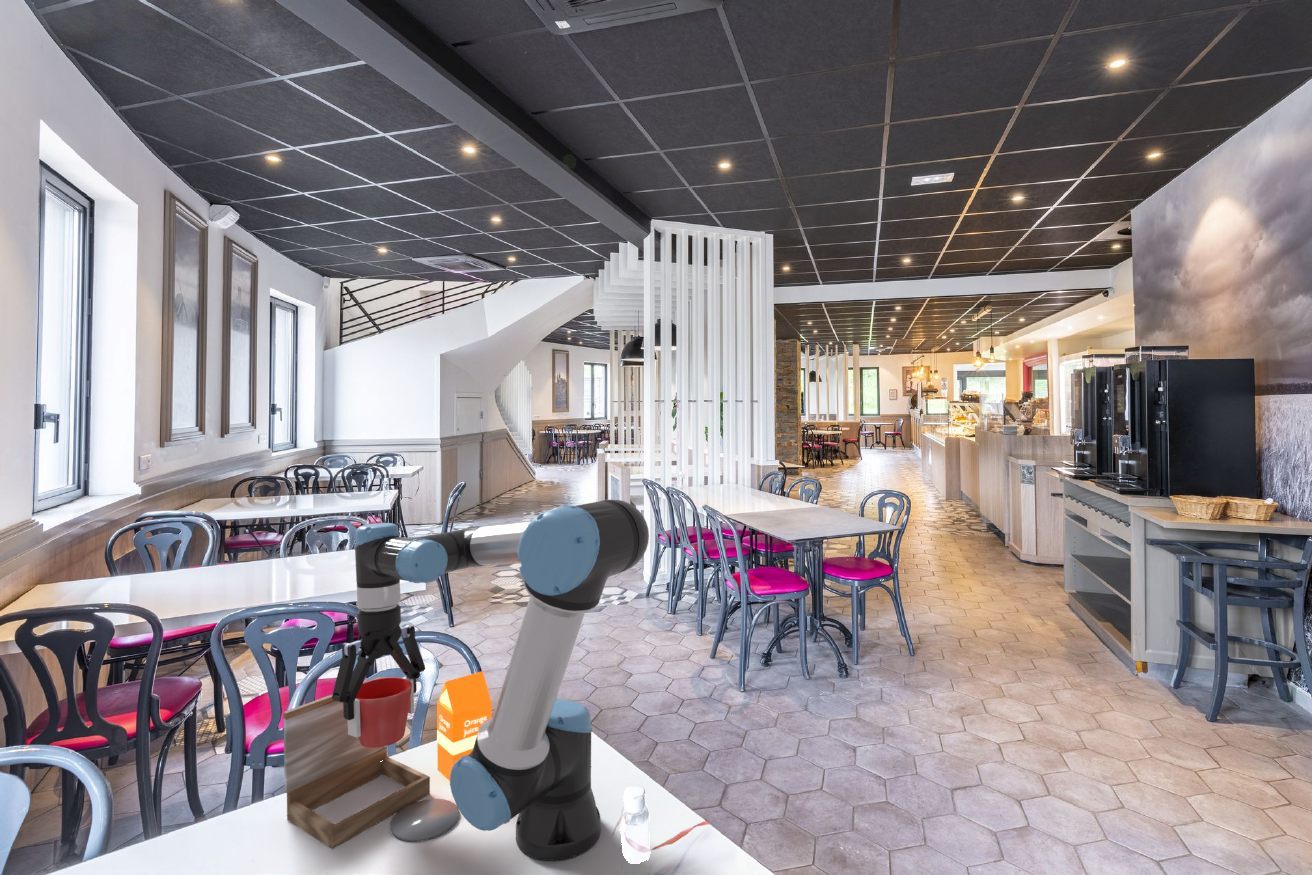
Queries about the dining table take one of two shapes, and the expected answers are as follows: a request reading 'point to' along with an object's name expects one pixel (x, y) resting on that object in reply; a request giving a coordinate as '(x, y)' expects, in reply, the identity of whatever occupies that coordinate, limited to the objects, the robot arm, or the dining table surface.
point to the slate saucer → (424, 820)
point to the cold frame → (338, 772)
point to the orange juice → (460, 718)
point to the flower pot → (383, 711)
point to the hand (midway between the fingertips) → (382, 722)
